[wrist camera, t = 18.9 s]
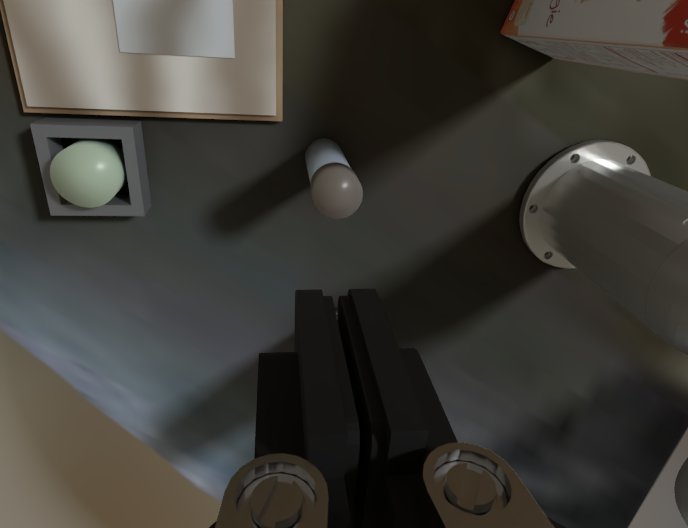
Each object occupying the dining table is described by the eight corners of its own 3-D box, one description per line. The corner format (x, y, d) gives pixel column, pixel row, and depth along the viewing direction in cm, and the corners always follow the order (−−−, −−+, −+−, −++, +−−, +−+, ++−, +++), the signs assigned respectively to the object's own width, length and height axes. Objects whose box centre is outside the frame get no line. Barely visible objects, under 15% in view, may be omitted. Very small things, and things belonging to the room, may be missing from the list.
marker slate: (344, 137, 40) (364, 171, 32) (342, 177, 42) (361, 219, 33) (304, 136, 40) (312, 169, 31) (303, 176, 41) (311, 218, 33)
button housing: (140, 121, 38) (132, 127, 36) (151, 205, 41) (144, 216, 39) (44, 117, 37) (29, 124, 35) (63, 204, 40) (50, 215, 38)
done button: (125, 137, 38) (112, 147, 35) (133, 193, 40) (121, 207, 37) (62, 135, 37) (43, 145, 34) (74, 192, 39) (57, 207, 36)
